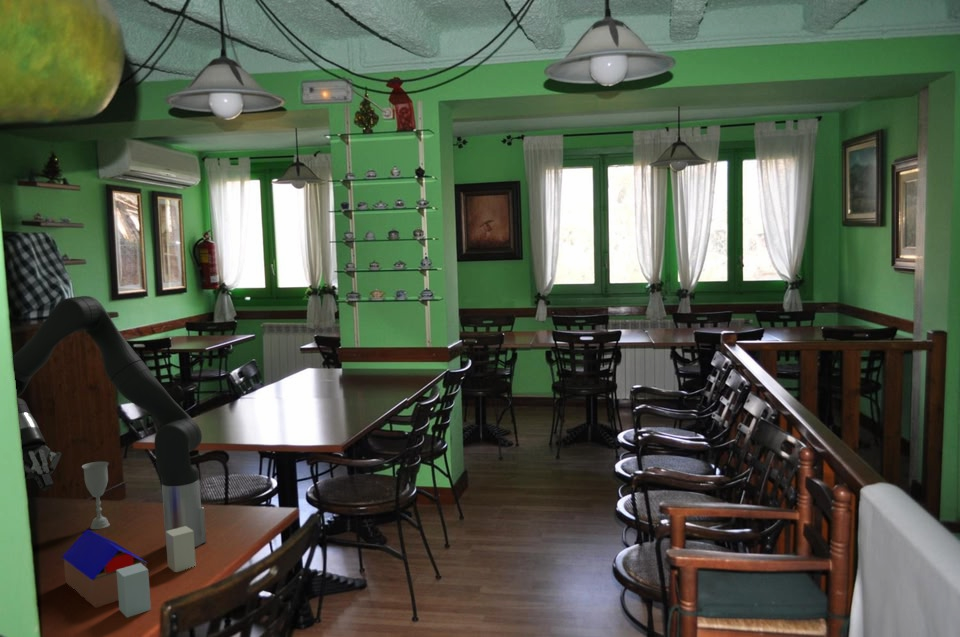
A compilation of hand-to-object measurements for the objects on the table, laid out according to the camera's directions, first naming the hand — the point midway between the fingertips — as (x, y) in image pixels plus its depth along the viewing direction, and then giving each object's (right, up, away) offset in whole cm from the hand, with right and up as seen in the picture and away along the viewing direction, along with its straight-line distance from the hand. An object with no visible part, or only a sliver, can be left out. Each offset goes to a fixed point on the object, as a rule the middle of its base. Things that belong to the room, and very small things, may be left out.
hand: (48, 488), depth 192 cm
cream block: (+37, -18, -7) cm, 42 cm away
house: (+23, -20, -17) cm, 35 cm away
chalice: (+1, -17, +24) cm, 29 cm away
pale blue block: (+36, -20, -29) cm, 50 cm away
